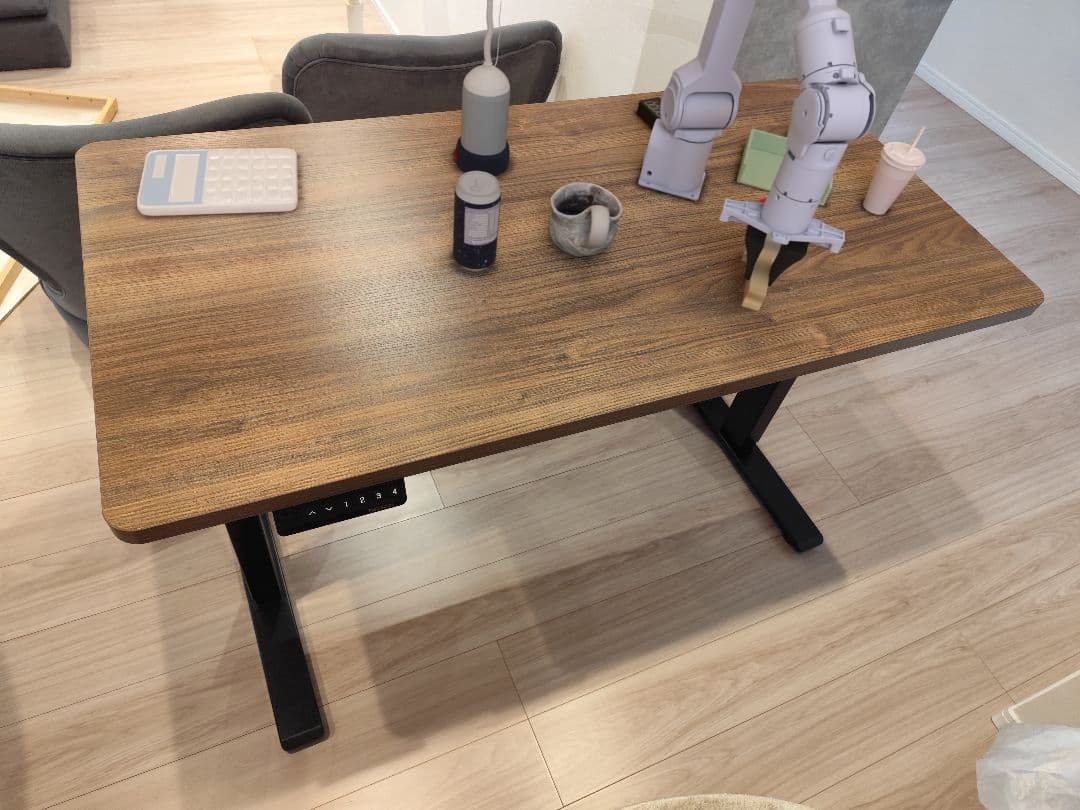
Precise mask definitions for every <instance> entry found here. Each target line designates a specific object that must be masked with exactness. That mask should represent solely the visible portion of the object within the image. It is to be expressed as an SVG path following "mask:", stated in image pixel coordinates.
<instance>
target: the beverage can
mask: <svg viewBox="0 0 1080 810" xmlns="http://www.w3.org/2000/svg"><path fill="white" fill-rule="evenodd" d="M453 196H454V198H453V199H454V200H453V229H452V230H453V234H452V235H453V236H452V257H453V259H454V260H455V262H456V263H457V264H458V265H459V266H461V267H462V268H464V269H465V270H469V271H474V272H475V271H477V272H478V271H482V270H485V269H487V268H489V267H490V266H492V265H493V264H494V263H495V261H496V259H497V250H498V249H497V248H498V238H499V237H498V236H499V226H500V216H501V215H500V214H501V201H502V190H501V188H500V183H499V181H498V179H497V177H496V176H493V175H491V174H489V173H486V172H482V171H471V172H467V173H465V172H464V173H463V174H462V175H460V176H459V178H458V180H457V183H456V185H455V187H454V195H453Z"/></svg>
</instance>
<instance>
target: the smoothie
mask: <svg viewBox="0 0 1080 810" xmlns="http://www.w3.org/2000/svg"><path fill="white" fill-rule="evenodd" d="M925 130H926V126H924V125H922V126H920V129H919V131H918V132H917V134H916V136H915V138H914V139H913V141H912V143H911V144H909V143H906V142H901V141H890V142H886V143H885V144H884V145H883V147H882V149H881V150H880V159H879V161H878V163H877V166H876V169H875V171H874V174H873V176H872V179H871V182H870V183H869V187H868V190H867V192H866V195H865V198H864V199H863V203H862V206H863V208H864V210H866V211H867V212H869V213H871V214H873V215H880V216H881V215H885V214H886V213H887V211H888V210H889V209H890V207H891V206H892V205H893V203H894V202H895V201H896V200H897V199H898V197H899V196H900V194H901V193H902V192H903V190H904V189H905V187H907V185H908V184H909V182H910V181H911V180H912V179H913V177H915V174H916V173H917V172H918V171H920V170H921V169H922V168H924V165H925V163H926V161H927V159H926V155H925V154H924V153H923V152H922V150H920V149H919V148H917V147H916V146H917V144H918V142H919V140H920V138H921V137H922V135H923V133H924V132H925Z"/></svg>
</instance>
